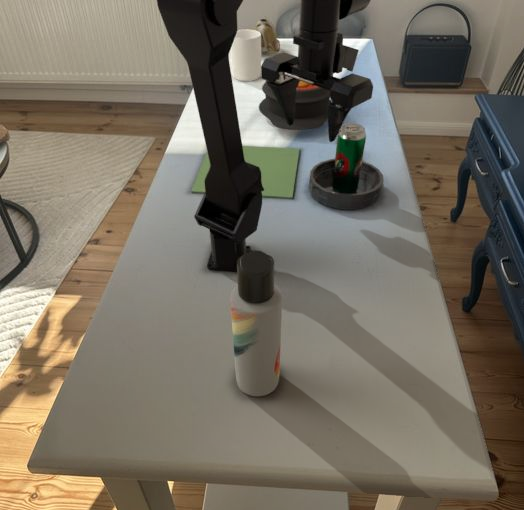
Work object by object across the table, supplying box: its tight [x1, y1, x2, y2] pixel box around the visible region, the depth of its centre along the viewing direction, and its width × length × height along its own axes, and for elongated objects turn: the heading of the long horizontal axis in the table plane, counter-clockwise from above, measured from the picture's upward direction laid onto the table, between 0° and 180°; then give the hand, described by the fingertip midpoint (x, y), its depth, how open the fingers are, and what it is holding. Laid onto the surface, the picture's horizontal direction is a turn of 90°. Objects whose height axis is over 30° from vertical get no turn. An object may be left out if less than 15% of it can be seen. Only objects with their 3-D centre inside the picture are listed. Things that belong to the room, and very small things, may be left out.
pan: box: [308, 158, 384, 210], centre depth 94 cm, size 14×14×3 cm
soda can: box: [332, 122, 367, 194], centre depth 90 cm, size 5×5×12 cm
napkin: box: [190, 145, 301, 199], centre depth 101 cm, size 20×20×1 cm
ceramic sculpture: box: [253, 16, 281, 54], centre depth 146 cm, size 11×9×15 cm
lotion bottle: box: [230, 250, 283, 397], centre depth 56 cm, size 6×6×20 cm
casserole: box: [258, 80, 332, 131], centre depth 115 cm, size 25×19×8 cm
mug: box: [230, 28, 262, 82], centre depth 133 cm, size 12×8×10 cm
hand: (310, 132), depth 83 cm, fingers open, 9 cm apart
